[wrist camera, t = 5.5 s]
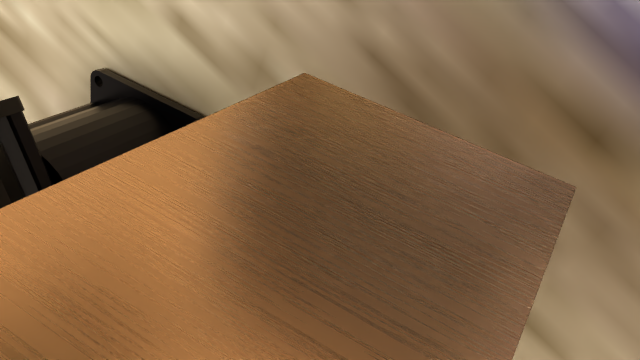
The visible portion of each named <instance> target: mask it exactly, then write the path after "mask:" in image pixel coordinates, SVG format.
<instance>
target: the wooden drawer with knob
mask: <svg viewBox="0 0 640 360" xmlns="http://www.w3.org/2000/svg"><path fill="white" fill-rule="evenodd" d="M575 190H576V187H575V186H572V185H570V184H568V183H565V182H563V181H560V180H558V179H556V178H553V177H551V176H548V175H546V174H544V173H541V172H539V171H537V170H534V169H532V168H529V167H527V166H525V165H522V164H520V163H518V162H515V161H513V160H510V159H508V158H506V157H503V156H501V155H499V154H496V153H494V152H491V151H489V150H487V149H484V148H482V147H480V146H477V145H475V144H472V143H470V142H468V141H465V140H463V139H461V138H458V137H456V136H453V135H451V134H449V133H446V132H444V131H442V130H439V129H437V128H434V127H432V126H430V125H427V124H425V123H423V122H420V121H418V120H415V119H413V118H411V117H408V116H406V115H403V114H401V113H399V112H396V111H394V110H392V109H389V108H387V107H384V106H382V105H380V104H377V103H375V102H373V101H370V100H368V99H365V98H363V97H361V96H358V95H356V94H354V93H351V92H349V91H346V90H344V89H342V88H339V87H337V86H335V85H332V84H330V83H327V82H325V81H323V80H320V79H318V78H316V77H313V76H311V75H308V74H306V73H303V74H301V75H299V76H297V77H294V78H292V79H290V80H288V81H285V82H283V83H281V84H279V85H276V86H274V87H272V88H270V89H268V90H265V91H263V92H261V93H259V94H256V95H254V96H252V97H250V98H247V99H245V100H243V101H241V102H238V103H236V104H234V105H232V106H229V107H227V108H225V109H223V110H220V111H218V112H216V113H214V114H211V115H209V116H207V117H205V118H202V119H200V120H198V121H196V122H193V123H191V124H189V125H187V126H185V127H182V128H180V129H178V130H176V131H173V132H171V133H169V134H167V135H164V136H162V137H160V138H158V139H155V140H153V141H151V142H149V143H146V144H144V145H142V146H140V147H137V148H135V149H133V150H131V151H128V152H126V153H124V154H122V155H119V156H117V157H115V158H113V159H111V160H108V161H106V162H104V163H102V164H99V165H97V166H95V167H93V168H90V169H88V170H86V171H84V172H81V173H79V174H77V175H75V176H72V177H70V178H68V179H66V180H63V181H61V182H59V183H57V184H54V185H52V186H50V187H48V188H45V189H43V190H41V191H39V192H36V193H34V194H32V195H30V196H28V197H25V198H23V199H21V200H19V201H16V202H14V203H12V204H10V205H7V206H5V207H3V208H1V209H0V360H512V358H513V356H514V353H515V350H516V348H517V345H518V342H519V340H520V337H521V334H522V332H523V329H524V326H525V324H526V321H527V318H528V316H529V313H530V310H531V308H532V305H533V302H534V299H535V297H536V294H537V291H538V289H539V286H540V283H541V281H542V278H543V275H544V273H545V270H546V267H547V265H548V262H549V259H550V257H551V254H552V251H553V249H554V246H555V243H556V240H557V238H558V235H559V232H560V230H561V227H562V224H563V222H564V219H565V216H566V214H567V211H568V208H569V206H570V203H571V200H572V198H573V195H574V192H575Z"/></svg>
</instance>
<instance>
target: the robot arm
mask: <svg viewBox="0 0 640 360" xmlns="http://www.w3.org/2000/svg"><path fill="white" fill-rule="evenodd" d="M23 110H24V107H23V105H22V103H21V100H20V98H19V96H16V97H12V98H9V99H5V100H2V101H0V209H1V208H3V207H5V206H7V205H10V204H12V203H14V202H16V201H19V200H21V199H23V198H25V197H28V196H30V195H32V194H34V193H36V192H39V191H41V190H43V189H45V188H48V187H50V186H52V185H54V184H57V183H59V182H61V181H63V180H66V179H68V178H70V177H72V176H75V175H77V174H79V173H81V172H84V171H86V170H88V169H90V168H93V167H95V166H97V165H99V164H102V163H104V162H106V161H108V160H111V159H113V158H115V157H117V156H119V155H122V154H124V153H126V152H128V151H131V150H133V149H135V148H137V147H140V146H142V145H144V144H146V143H149V142H151V141H153V140H155V139H158V138H160V137H162V136H164V135H167V134H169V133H171V132H173V131H176V130H178V129H180V128H182V127H185V126H187V125H189V124H191V123H193V122H196V121H198V120H200V119H202V118H205V117H203V116H202V115H200V114H198V113H196V112H194V111H192V110H190V109H188V108H185V107H183V106H181V105H179V104H177V103H175V102H173V101H171V100H169V99H167V98H165V97H163V96H161V95H159V94H157V93H154V92H152V91H150V90H148V89H146V88H144V87H142V86H140V85H138V84H136V83H134V82H132V81H130V80H128V79H125V78H123V77H121V76H119V75H117V74H115V73H113V72H111V71H109V70H107V69H104V68H102V69H98V70H95V71H93V72H92V73H91V103H90V104H87V105H84V106H81V107H78V108H75V109H72V110H69V111H66V112H63V113H60V114H57V115H54V116H51V117H48V118H45V119H42V120H39V121H36V122H33V123H30V124H27V121H26V119H25V117H24V114H23V112H22V111H23Z"/></svg>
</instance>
